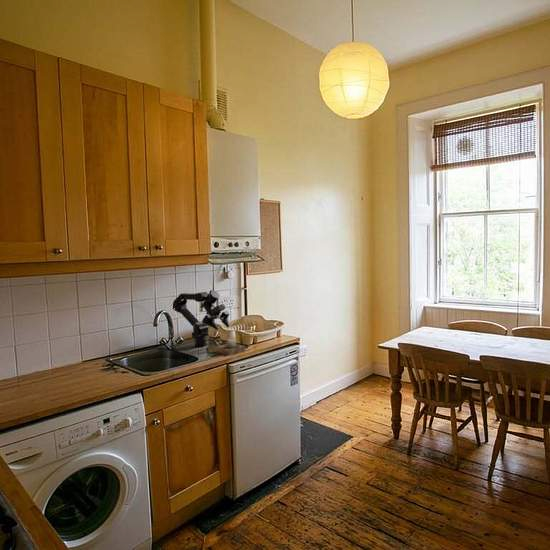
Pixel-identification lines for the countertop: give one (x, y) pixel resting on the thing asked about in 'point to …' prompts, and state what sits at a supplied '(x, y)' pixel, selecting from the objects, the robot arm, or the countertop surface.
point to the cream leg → (231, 338)
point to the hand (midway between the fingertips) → (223, 328)
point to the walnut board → (229, 349)
